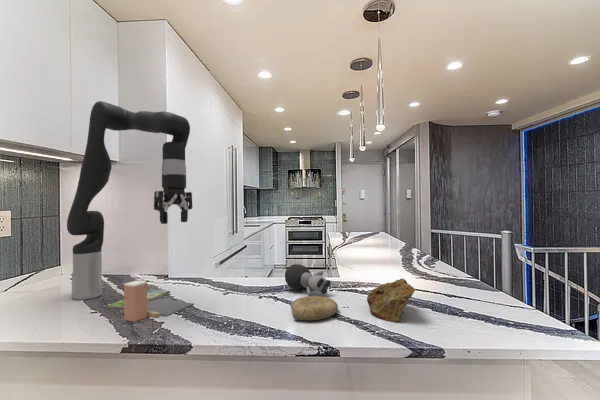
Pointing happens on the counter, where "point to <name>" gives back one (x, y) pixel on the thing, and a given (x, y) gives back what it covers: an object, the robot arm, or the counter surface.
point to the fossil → (313, 308)
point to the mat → (167, 306)
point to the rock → (390, 300)
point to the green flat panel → (150, 296)
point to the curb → (153, 314)
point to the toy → (305, 279)
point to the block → (135, 300)
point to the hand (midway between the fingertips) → (174, 222)
